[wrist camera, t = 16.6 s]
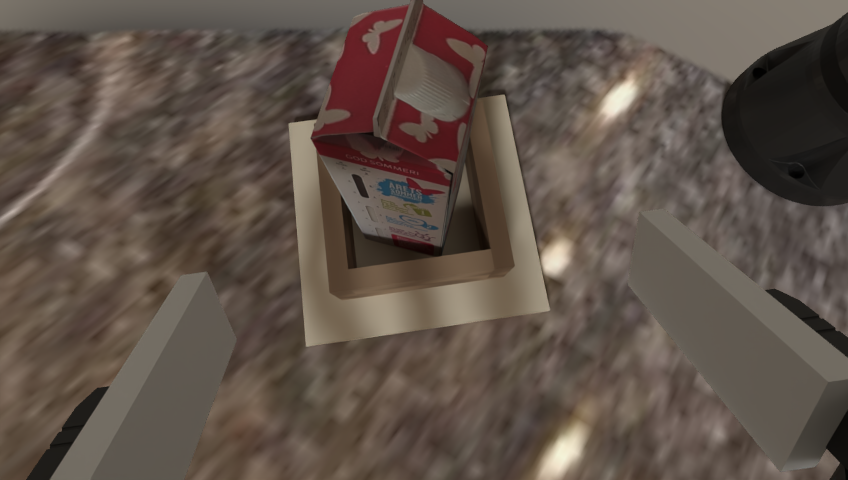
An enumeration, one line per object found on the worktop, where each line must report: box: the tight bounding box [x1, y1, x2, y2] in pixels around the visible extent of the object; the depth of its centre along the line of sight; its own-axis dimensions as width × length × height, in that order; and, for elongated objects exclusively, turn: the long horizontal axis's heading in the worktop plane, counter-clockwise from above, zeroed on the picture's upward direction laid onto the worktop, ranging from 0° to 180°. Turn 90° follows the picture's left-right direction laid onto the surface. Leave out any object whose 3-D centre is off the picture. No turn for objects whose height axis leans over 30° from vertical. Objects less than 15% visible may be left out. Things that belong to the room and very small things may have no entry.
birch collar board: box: [289, 95, 550, 346], centre depth 37 cm, size 20×20×6 cm
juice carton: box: [310, 0, 488, 257], centre depth 28 cm, size 7×7×22 cm
